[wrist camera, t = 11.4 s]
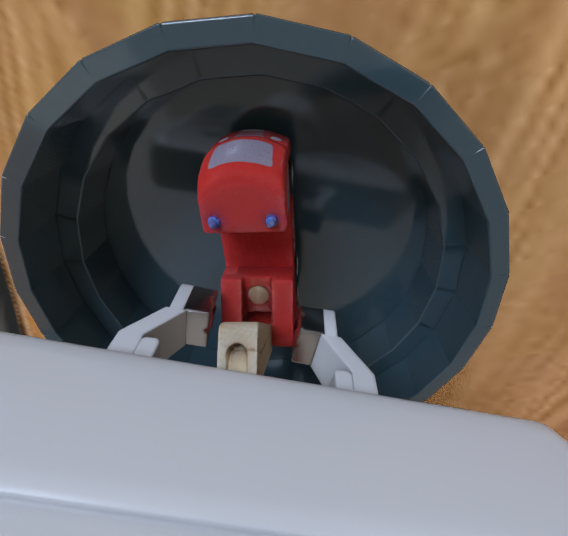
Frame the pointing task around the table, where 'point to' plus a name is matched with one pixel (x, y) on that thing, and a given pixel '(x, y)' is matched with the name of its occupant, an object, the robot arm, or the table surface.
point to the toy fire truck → (252, 244)
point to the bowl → (306, 193)
